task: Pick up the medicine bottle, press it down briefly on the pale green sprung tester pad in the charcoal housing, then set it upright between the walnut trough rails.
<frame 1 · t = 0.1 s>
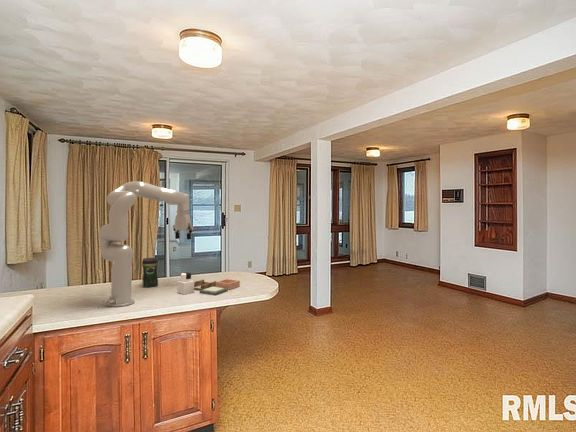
hand: (183, 239, 218), 31 cm above the worktop, tool pointing down, fingers open, 9 cm apart
medicine bottle: (185, 293, 204), on the worktop
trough: (202, 287, 218), on the worktop
tester pad: (213, 289, 205), point 1 cm above the worktop, slide at -1.0 cm
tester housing: (213, 292, 205), on the worktop
coffee jar: (150, 286, 220), on the worktop
reddish brown square tray: (227, 287, 218), on the worktop
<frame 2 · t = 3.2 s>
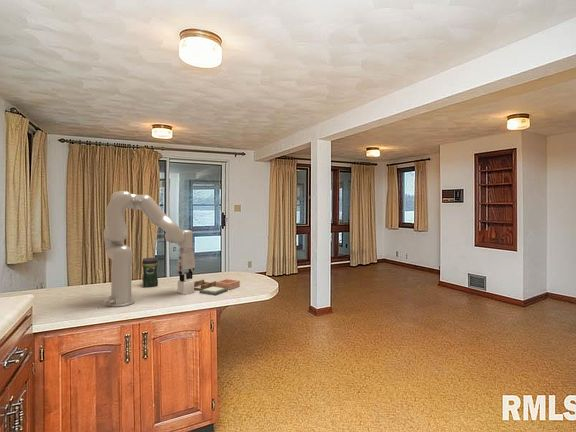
hand: (186, 279, 203), 8 cm above the worktop, tool pointing down, fingers closed on medicine bottle, 6 cm apart
medicine bottle: (185, 293, 204), on the worktop, touching gripper
everything else where it was.
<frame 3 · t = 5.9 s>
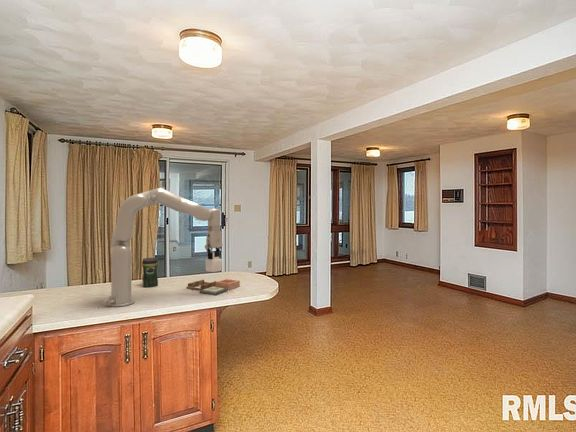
hand: (213, 257, 205), 21 cm above the worktop, tool pointing down, fingers closed on medicine bottle, 6 cm apart
medicine bottle: (213, 271, 205), point 13 cm above the worktop, touching gripper
everything else where it was.
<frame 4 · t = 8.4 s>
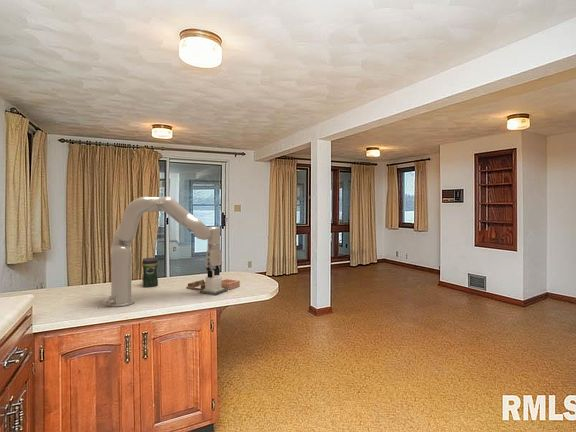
hand: (213, 276, 205), 10 cm above the worktop, tool pointing down, fingers closed on medicine bottle, 6 cm apart
medicine bottle: (213, 289, 205), point 2 cm above the worktop, touching gripper
everything else where it was.
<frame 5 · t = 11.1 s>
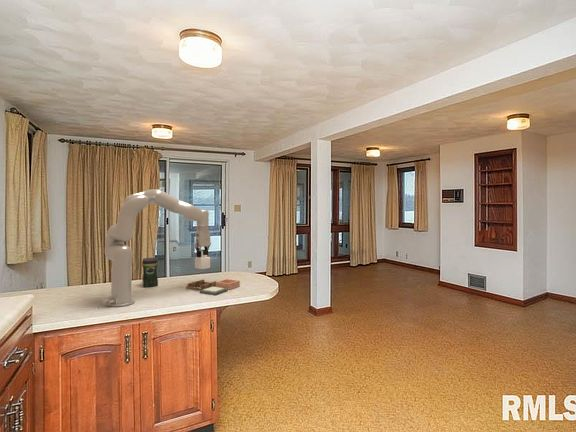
hand: (202, 256, 218), 20 cm above the worktop, tool pointing down, fingers closed on medicine bottle, 6 cm apart
medicine bottle: (202, 268, 218), point 12 cm above the worktop, touching gripper
everything else where it was.
when the fingers open (8 cm above the worktop, at t = 13.6 s): medicine bottle stays where it is, resting in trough.
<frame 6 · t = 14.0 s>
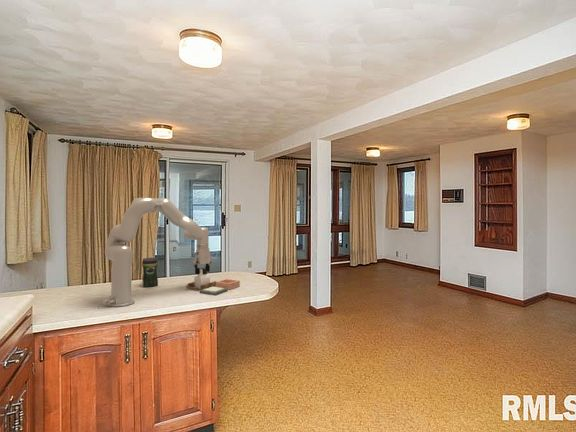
hand: (202, 272, 218), 9 cm above the worktop, tool pointing down, fingers open, 9 cm apart
medicine bottle: (202, 287, 218), resting in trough
everything else where it was.
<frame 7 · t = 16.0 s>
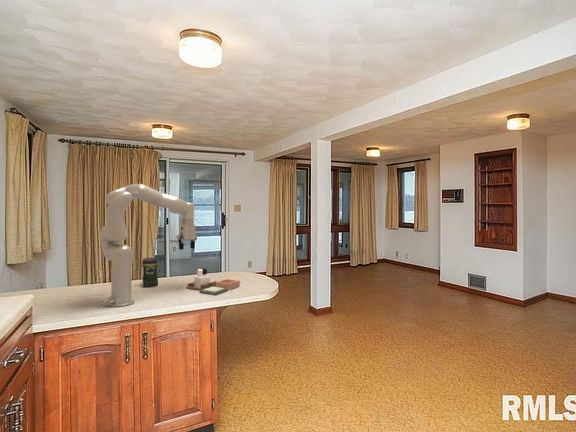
hand: (186, 248, 213), 25 cm above the worktop, tool pointing down, fingers open, 9 cm apart
nothing on the worktop moved.
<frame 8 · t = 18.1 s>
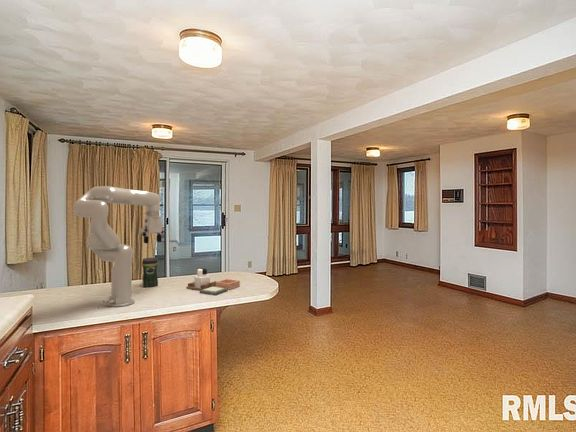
hand: (152, 242, 203), 30 cm above the worktop, tool pointing down, fingers open, 9 cm apart
nothing on the worktop moved.
at the end: medicine bottle inside the target area on the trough (0.3 cm from its centre), point 0.0 cm above the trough's base; medicine bottle tilted 0°; the gripper is holding nothing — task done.
